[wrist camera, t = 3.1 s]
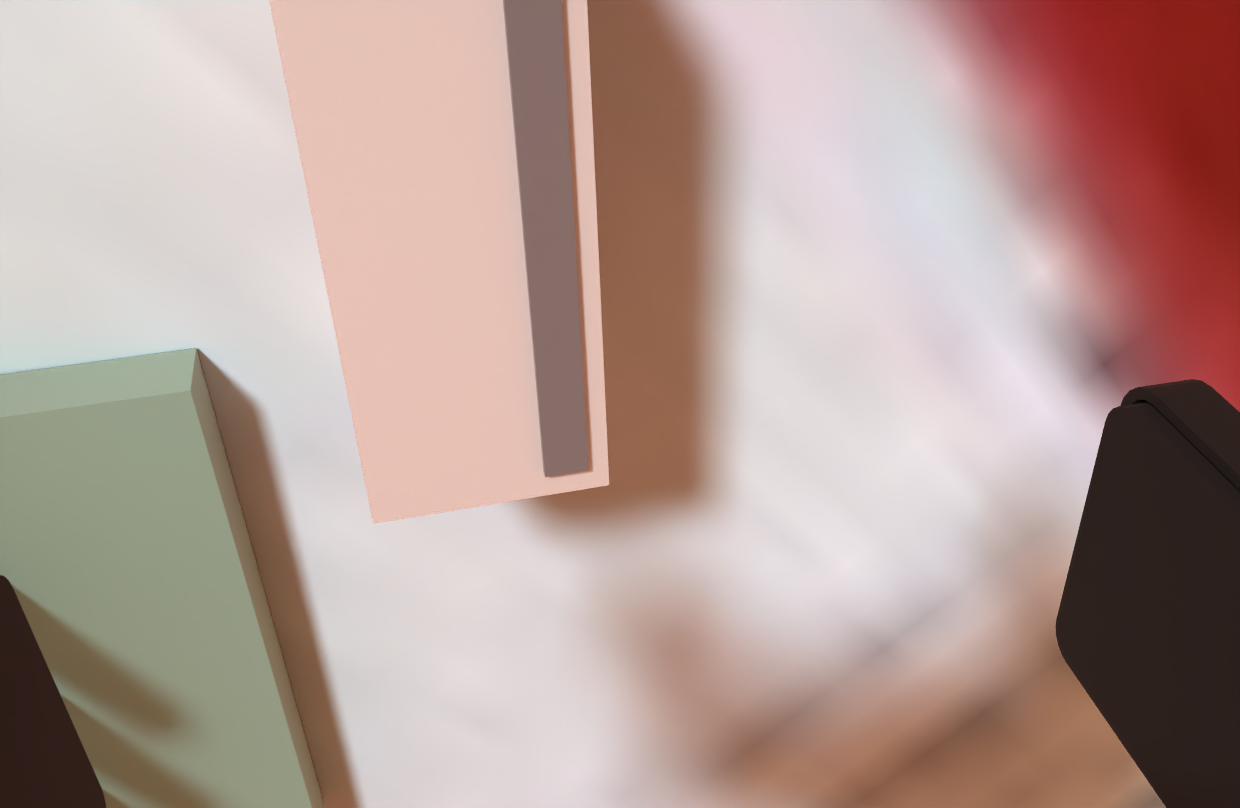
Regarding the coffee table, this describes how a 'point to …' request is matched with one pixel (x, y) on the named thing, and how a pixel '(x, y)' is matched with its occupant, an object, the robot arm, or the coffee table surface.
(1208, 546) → the robot arm
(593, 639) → the coffee table surface
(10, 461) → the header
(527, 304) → the block
